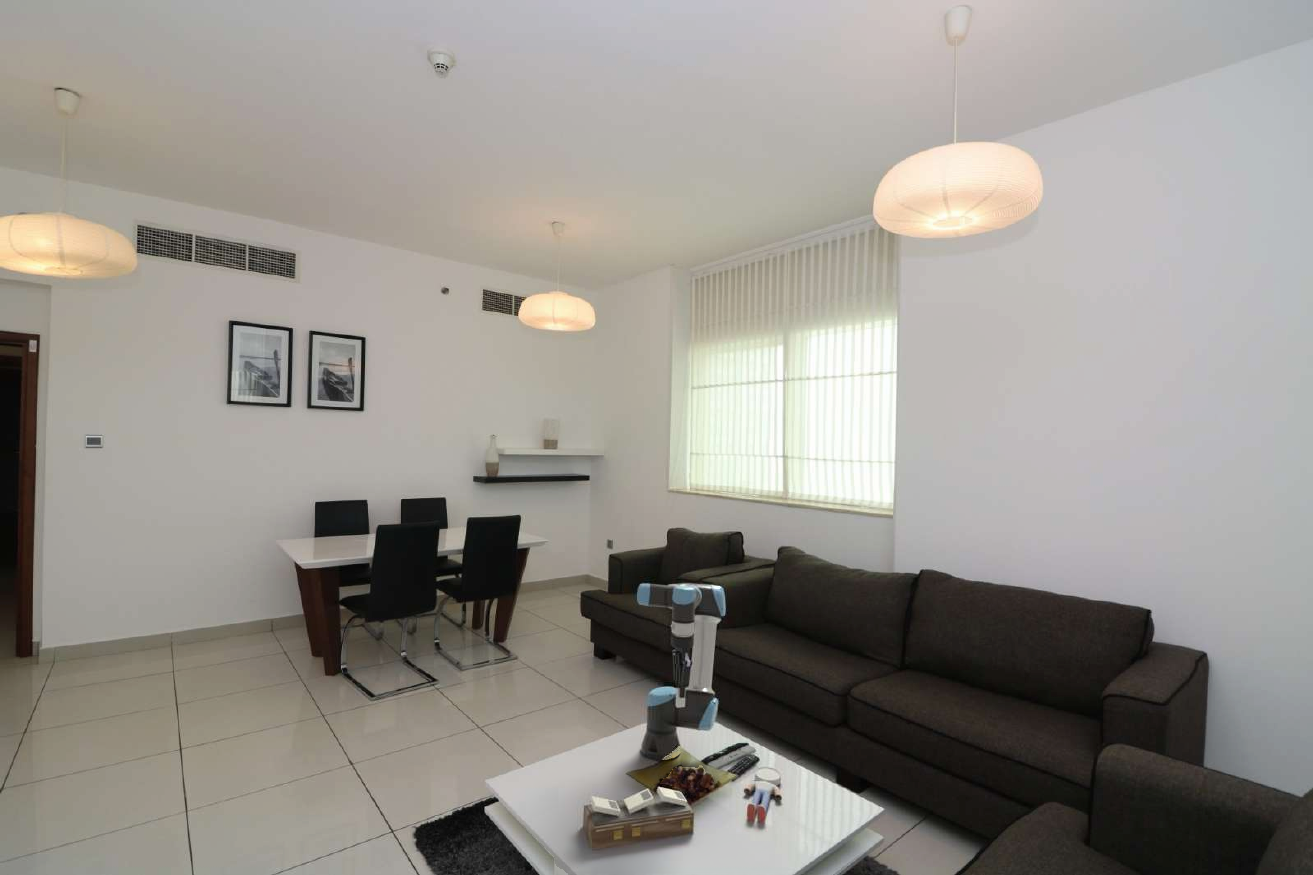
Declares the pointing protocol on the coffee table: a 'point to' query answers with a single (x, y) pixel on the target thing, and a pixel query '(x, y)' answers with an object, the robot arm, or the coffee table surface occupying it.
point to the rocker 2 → (671, 796)
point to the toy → (763, 791)
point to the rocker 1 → (605, 806)
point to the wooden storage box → (637, 823)
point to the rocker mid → (639, 801)
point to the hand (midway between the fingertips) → (680, 706)
